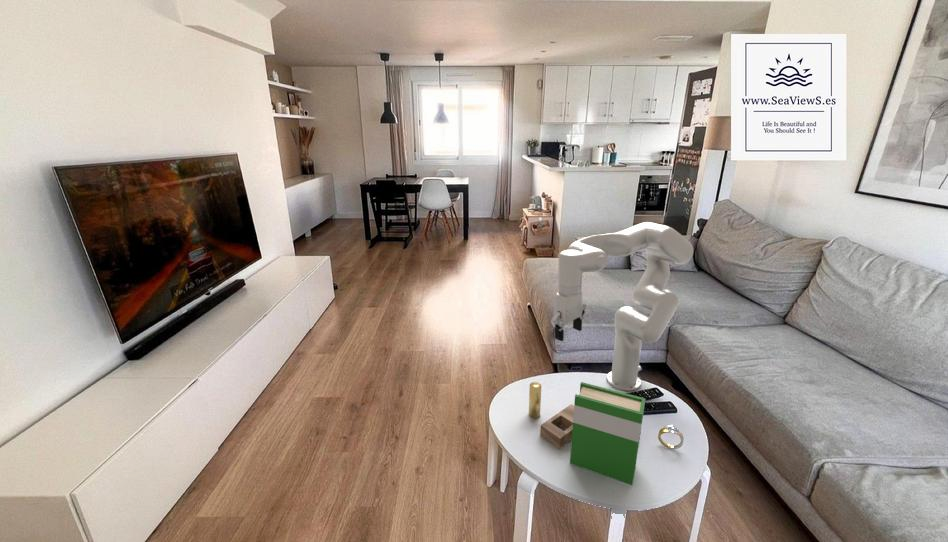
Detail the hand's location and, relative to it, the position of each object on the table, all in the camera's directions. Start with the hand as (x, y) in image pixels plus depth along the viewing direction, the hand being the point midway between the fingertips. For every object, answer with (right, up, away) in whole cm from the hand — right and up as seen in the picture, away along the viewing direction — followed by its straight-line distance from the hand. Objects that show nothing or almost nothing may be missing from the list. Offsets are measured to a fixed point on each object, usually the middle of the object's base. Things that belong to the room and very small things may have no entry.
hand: (568, 334), depth 135 cm
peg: (-11, -29, +5) cm, 31 cm away
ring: (+29, -34, -11) cm, 46 cm away
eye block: (-2, -32, -2) cm, 32 cm away
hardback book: (+6, -36, -16) cm, 40 cm away
